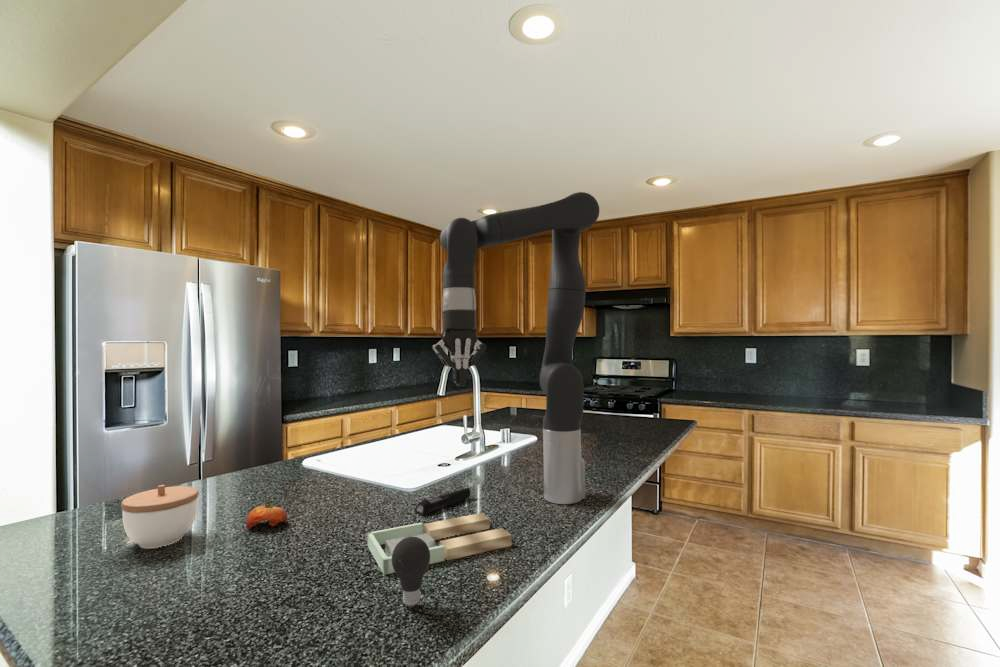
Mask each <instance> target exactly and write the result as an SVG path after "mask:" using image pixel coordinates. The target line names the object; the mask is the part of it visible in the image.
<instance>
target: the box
mask: <svg viewBox="0 0 1000 667" xmlns="http://www.w3.org/2000/svg"><path fill="white" fill-rule="evenodd" d="M423 524H424V523H423V522H417V523H411V524H406V525H401V526H396V527H391V528H385V529H380V530H375V531H370V532H366V538H367V539H366V540H367V541H366V544H367V545H366V546H367V548H368V550H369V551H370V553H371V555H372V556H373V558H374V560H375V562H376V563H377V565H378V567H379V569H380V570H381V572H382V574H383V576H385V575H390V574H393V573H395V571H394V568H393V566H392V556H390V557H387V555H386V553H385V551H384V550H383V548H382V545H385V541H386V540H391V539H397V538H402V537H411V536H416V535H421V534H424V527H423ZM429 551H430V562H429V565H432V564H433V565H434V564H435V563H441V562H444V561H445V559H446V558H445V557H444V546H443V545H440V544H439V545H436V546H435V547H431V548H429Z"/></svg>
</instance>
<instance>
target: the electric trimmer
mask: <svg viewBox="0 0 1000 667" xmlns="http://www.w3.org/2000/svg"><path fill="white" fill-rule="evenodd" d="M470 497H471V489H470V487H466V488H462V489H458V490H455V491H452V492H448V493H445V494H443V495H438V496H436V497H433V498H430V499H426V498H424V499H423V500H422V501H419V502H418V503H417V504H416V506H415V509H414V514H416V515H417V514H418V516H420V517H423V516H425V517H427V516H426V515H428V514H429V513H431V512H434V511H436V510H440V509H442V508H445V507H452V506H455V505H457V504H459V503H461V502H463V501H465V500H467V499H469V498H470Z"/></svg>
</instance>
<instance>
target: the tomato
mask: <svg viewBox="0 0 1000 667" xmlns="http://www.w3.org/2000/svg"><path fill="white" fill-rule="evenodd" d="M271 503H272V501H271V500H268V501H267V503H264V505H259V506H257V507H255V508H253V509H252V510H251V511H250V512H249V514H248V515H247V518H246V524H245V525H246V526H245V527H246V530H247V531H248V532H250V531H251V528H252V527H254V526H257V524H260V523H262V522H263V521H268V520H269V522H268V524H269V525H270V526H271V527H275V526H276V525H278V524H279V523H281V522H287V521H288V515H287V512H286V510H285V509H284V508H282V507H277V506H274V505H272V504H271Z"/></svg>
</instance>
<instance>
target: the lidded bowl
mask: <svg viewBox="0 0 1000 667" xmlns="http://www.w3.org/2000/svg"><path fill="white" fill-rule="evenodd" d="M199 494H200V493H199V489H198V488H196V487H195V486H194V487H193V486H189V485H188V486H187V485H176V486H174V485H173V486H166V484H161V485H157V488H154V489H149V490H145V491H141V492H137V493H135V494H132V495H130V496H128V497H126V498H124V499H123V500H122V501H121V510H122V511H121V512H122V523H123V528H124V531H125V534H126V535H127V537H128V538H129V539H130V540H131V541H132V542H133V543H135V544H136V545H138V546H139V547H140V548H141V549H145V550H146V549H148V550H149V549H150V550H151V549H159V547H160V548H163V547H162V546H164V547H167V545H168V546H171V545H173V543H174V544H176V543H178V542H180V541H181V540H183V538H184V536H185V535H186V534H187V533H188V532H189V531H190V530H191V527H193V525H194V523H195V520H196V517H197V513H198V503H199V501H198V500H199ZM182 537H183V538H182ZM180 539H181V540H180ZM179 540H180V541H179ZM177 541H178V542H177ZM175 542H176V543H175ZM170 544H171V545H170Z"/></svg>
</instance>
